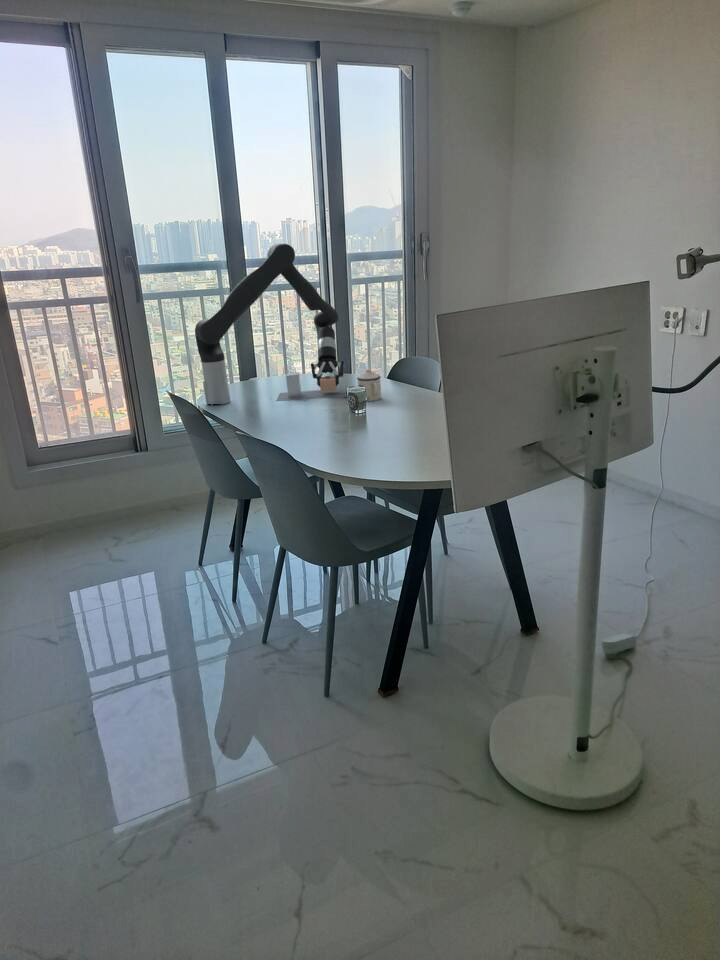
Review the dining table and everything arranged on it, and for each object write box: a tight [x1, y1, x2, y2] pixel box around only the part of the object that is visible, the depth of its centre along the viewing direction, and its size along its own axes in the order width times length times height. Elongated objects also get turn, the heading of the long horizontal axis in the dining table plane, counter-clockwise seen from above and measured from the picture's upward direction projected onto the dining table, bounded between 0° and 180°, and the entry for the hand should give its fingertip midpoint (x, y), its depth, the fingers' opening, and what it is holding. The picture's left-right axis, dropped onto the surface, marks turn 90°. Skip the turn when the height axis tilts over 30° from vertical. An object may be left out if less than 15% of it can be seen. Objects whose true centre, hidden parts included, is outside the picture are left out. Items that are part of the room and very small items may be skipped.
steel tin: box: [285, 371, 302, 398], centre depth 266 cm, size 5×5×9 cm
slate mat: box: [276, 388, 347, 402], centre depth 268 cm, size 28×14×1 cm, turn 90°
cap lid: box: [319, 375, 338, 392], centre depth 266 cm, size 6×6×5 cm
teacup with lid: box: [356, 368, 382, 402], centre depth 253 cm, size 12×9×12 cm
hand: (328, 385), depth 265 cm, fingers closed on cap lid, 6 cm apart
